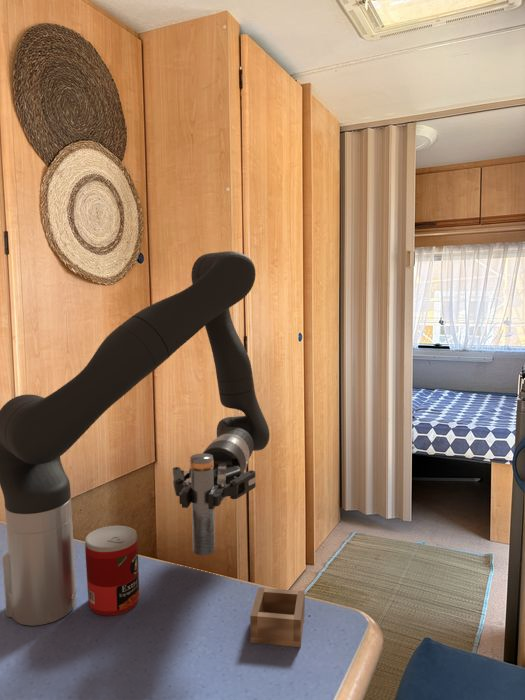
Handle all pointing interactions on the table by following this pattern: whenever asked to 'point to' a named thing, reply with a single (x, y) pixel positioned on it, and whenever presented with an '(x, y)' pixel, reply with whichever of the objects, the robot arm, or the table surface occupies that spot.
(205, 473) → the cylinder
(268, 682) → the table surface
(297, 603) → the wooden masu cup
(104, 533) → the canned food
